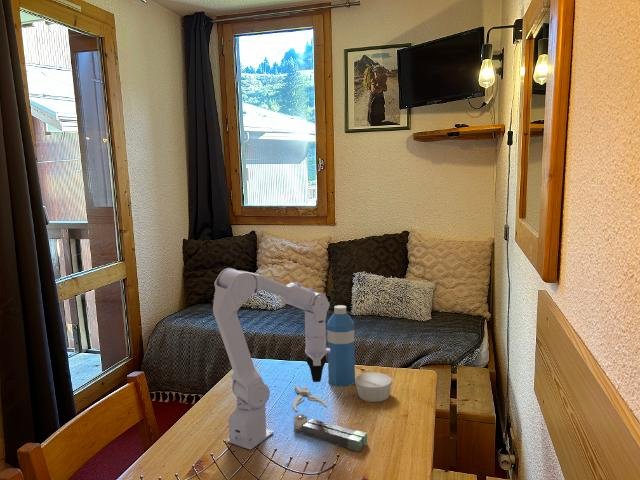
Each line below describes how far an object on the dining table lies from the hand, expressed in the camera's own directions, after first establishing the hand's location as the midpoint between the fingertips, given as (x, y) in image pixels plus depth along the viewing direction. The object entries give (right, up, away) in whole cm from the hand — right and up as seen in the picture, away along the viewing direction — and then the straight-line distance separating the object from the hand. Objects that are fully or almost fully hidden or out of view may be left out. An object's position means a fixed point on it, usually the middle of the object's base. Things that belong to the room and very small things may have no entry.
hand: (316, 381), depth 135 cm
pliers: (-3, -9, +10) cm, 14 cm away
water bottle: (+8, -7, +23) cm, 25 cm away
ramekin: (+17, -8, +11) cm, 22 cm away
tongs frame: (+3, -11, -13) cm, 17 cm away
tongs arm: (+5, -10, -13) cm, 17 cm away
